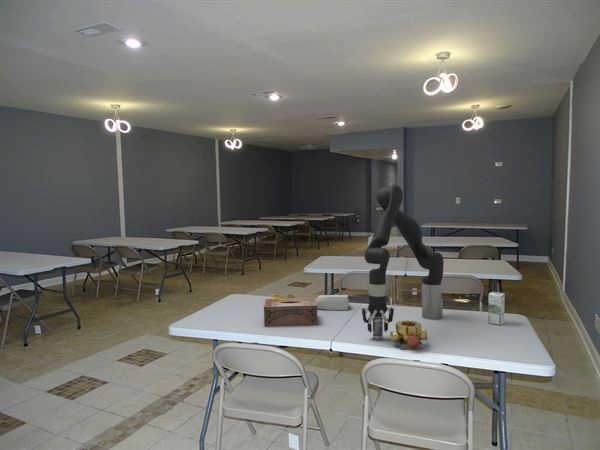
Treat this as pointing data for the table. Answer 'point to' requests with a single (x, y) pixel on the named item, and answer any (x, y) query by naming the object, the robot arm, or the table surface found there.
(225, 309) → the table surface
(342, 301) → the white flat block
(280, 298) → the sprinkler
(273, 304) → the tissue box cover
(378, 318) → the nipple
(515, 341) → the table surface
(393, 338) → the valve
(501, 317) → the syrup box
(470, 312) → the table surface
